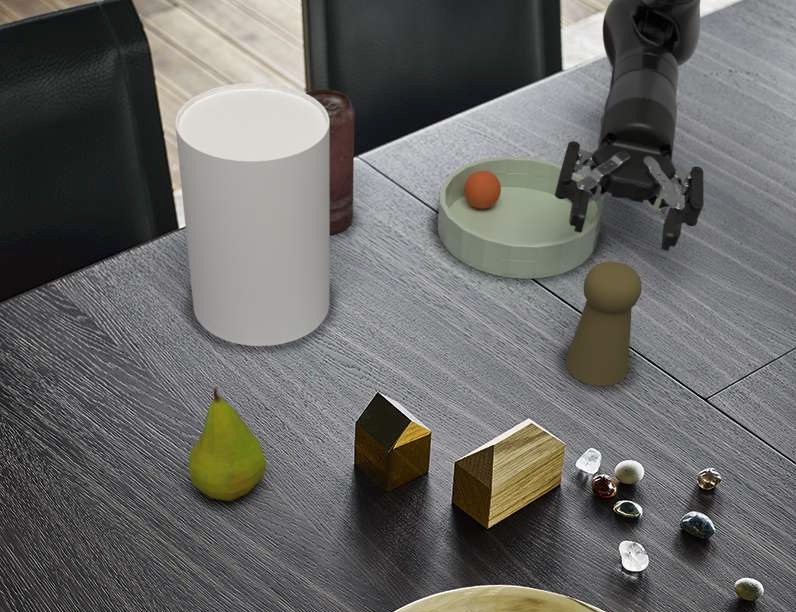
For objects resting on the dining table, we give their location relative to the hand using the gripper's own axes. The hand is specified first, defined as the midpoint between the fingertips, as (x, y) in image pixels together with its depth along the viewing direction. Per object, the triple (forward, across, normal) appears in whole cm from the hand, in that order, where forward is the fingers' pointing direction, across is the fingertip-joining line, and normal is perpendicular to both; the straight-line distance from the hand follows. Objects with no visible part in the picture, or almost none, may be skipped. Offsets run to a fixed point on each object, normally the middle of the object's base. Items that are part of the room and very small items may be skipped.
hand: (623, 235), depth 120 cm
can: (-7, -30, +13) cm, 34 cm away
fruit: (+34, -30, +6) cm, 45 cm away
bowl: (-10, -10, +12) cm, 18 cm away
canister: (+9, -33, +11) cm, 36 cm away
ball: (-14, -14, +10) cm, 22 cm away
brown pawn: (+10, 0, +8) cm, 13 cm away
